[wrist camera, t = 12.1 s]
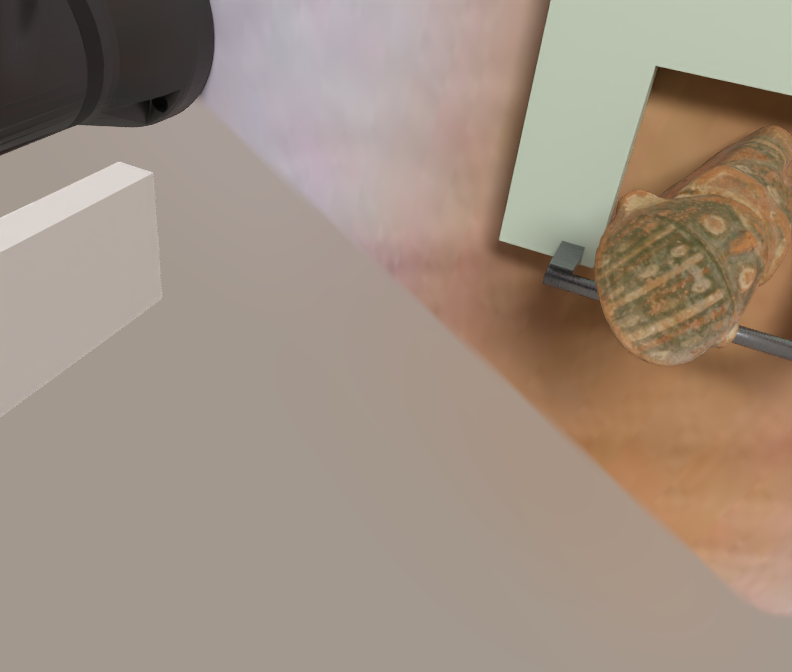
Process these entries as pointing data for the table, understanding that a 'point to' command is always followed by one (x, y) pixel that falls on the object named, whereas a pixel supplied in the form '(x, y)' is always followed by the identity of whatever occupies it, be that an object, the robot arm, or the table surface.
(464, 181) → the table surface
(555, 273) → the bar handle
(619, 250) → the figurine
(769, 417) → the table surface
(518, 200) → the pale green u-shaped slab
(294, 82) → the table surface
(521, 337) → the table surface
